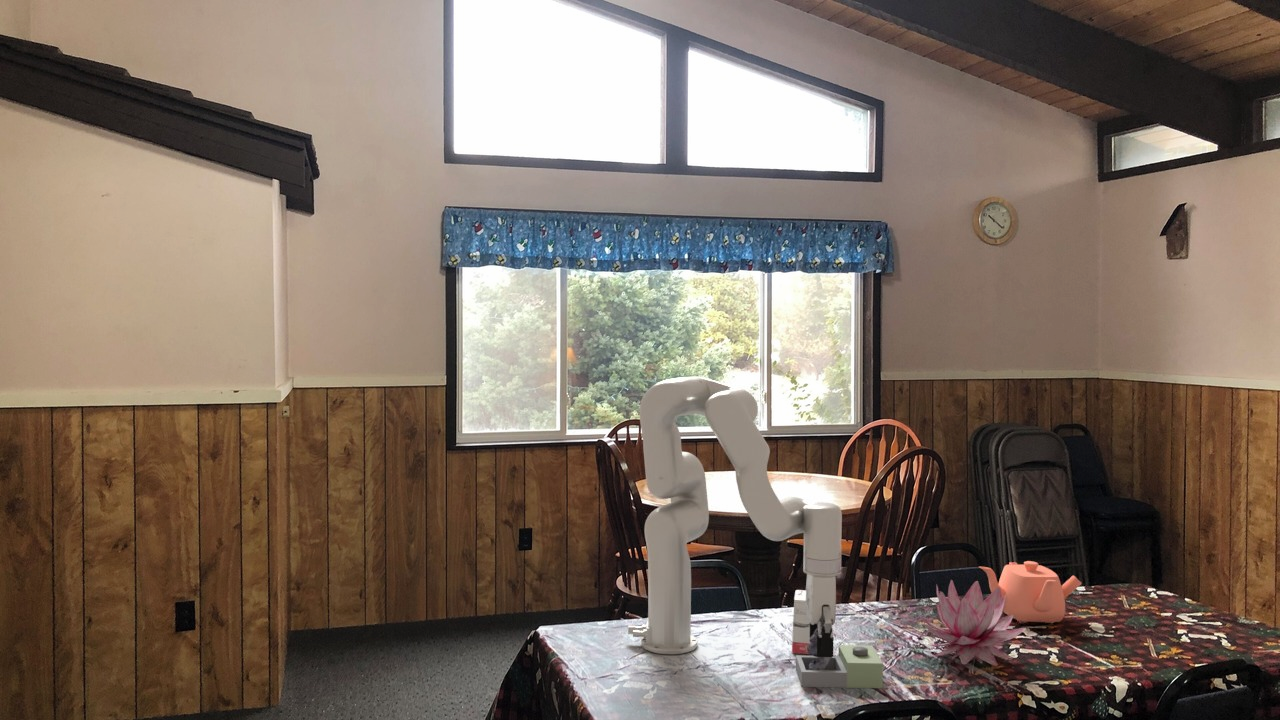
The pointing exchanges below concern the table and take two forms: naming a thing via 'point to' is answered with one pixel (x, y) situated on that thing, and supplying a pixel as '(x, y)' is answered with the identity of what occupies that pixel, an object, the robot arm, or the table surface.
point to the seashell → (812, 650)
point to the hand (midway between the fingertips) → (821, 647)
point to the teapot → (1032, 592)
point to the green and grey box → (844, 669)
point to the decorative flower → (973, 624)
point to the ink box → (800, 624)
